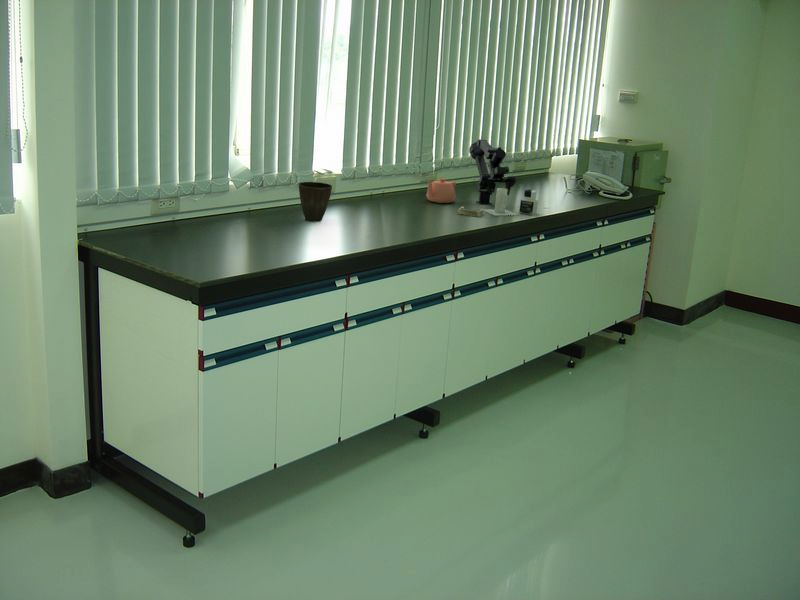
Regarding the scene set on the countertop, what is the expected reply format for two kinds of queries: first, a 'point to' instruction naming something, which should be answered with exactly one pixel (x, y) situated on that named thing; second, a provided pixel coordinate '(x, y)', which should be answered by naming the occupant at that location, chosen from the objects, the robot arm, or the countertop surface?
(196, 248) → the countertop surface
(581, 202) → the countertop surface
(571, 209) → the countertop surface
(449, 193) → the teapot
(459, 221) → the countertop surface
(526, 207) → the medicine bottle
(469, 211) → the holder
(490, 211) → the mat
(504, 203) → the pale grey rounded piece
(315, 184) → the plant pot
